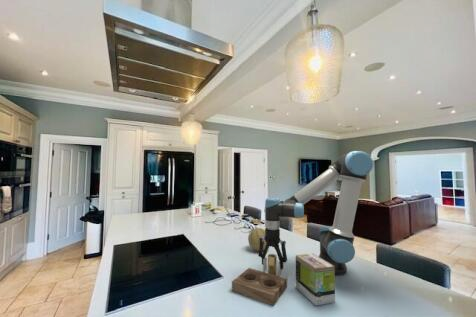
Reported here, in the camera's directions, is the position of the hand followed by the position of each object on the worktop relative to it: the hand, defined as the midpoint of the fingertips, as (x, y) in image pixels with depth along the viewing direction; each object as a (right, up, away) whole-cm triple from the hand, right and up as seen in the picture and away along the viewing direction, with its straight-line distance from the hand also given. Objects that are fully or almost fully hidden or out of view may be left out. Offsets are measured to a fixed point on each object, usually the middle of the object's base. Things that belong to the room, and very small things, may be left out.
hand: (272, 273), depth 111 cm
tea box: (+16, -1, -17) cm, 23 cm away
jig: (-8, 0, -13) cm, 15 cm away
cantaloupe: (-4, -3, +35) cm, 35 cm away
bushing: (0, -1, 0) cm, 1 cm away
